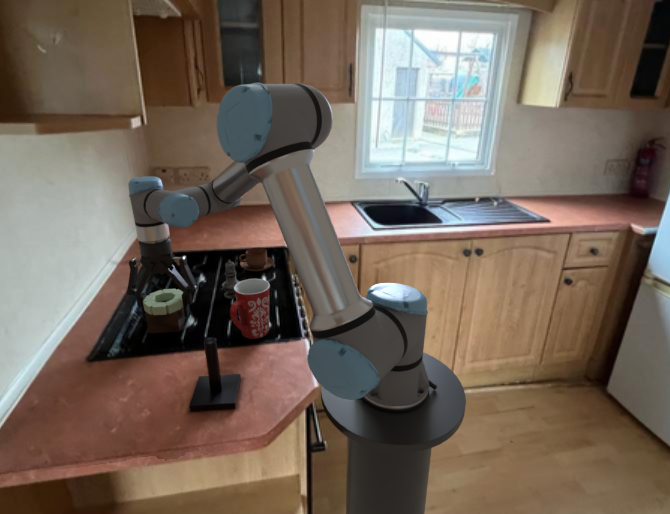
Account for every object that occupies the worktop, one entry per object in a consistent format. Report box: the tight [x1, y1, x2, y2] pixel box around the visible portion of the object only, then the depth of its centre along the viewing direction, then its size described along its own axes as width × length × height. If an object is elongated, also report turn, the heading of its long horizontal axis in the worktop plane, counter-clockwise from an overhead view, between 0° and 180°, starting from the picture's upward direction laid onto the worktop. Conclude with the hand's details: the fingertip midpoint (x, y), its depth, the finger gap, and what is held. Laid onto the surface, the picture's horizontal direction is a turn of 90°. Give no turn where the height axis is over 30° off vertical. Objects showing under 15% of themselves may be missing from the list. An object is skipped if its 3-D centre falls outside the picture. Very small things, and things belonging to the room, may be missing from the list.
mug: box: [229, 278, 271, 340], centre depth 105 cm, size 13×9×14 cm
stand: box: [188, 336, 242, 413], centre depth 85 cm, size 9×9×14 cm
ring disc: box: [143, 288, 183, 315], centre depth 110 cm, size 10×10×2 cm
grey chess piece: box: [221, 259, 241, 299], centre depth 126 cm, size 6×6×12 cm
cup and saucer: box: [238, 247, 275, 272], centre depth 147 cm, size 12×12×6 cm
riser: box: [145, 300, 188, 334], centre depth 111 cm, size 8×8×6 cm
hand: (167, 315), depth 111 cm, fingers closed on ring disc, 10 cm apart
